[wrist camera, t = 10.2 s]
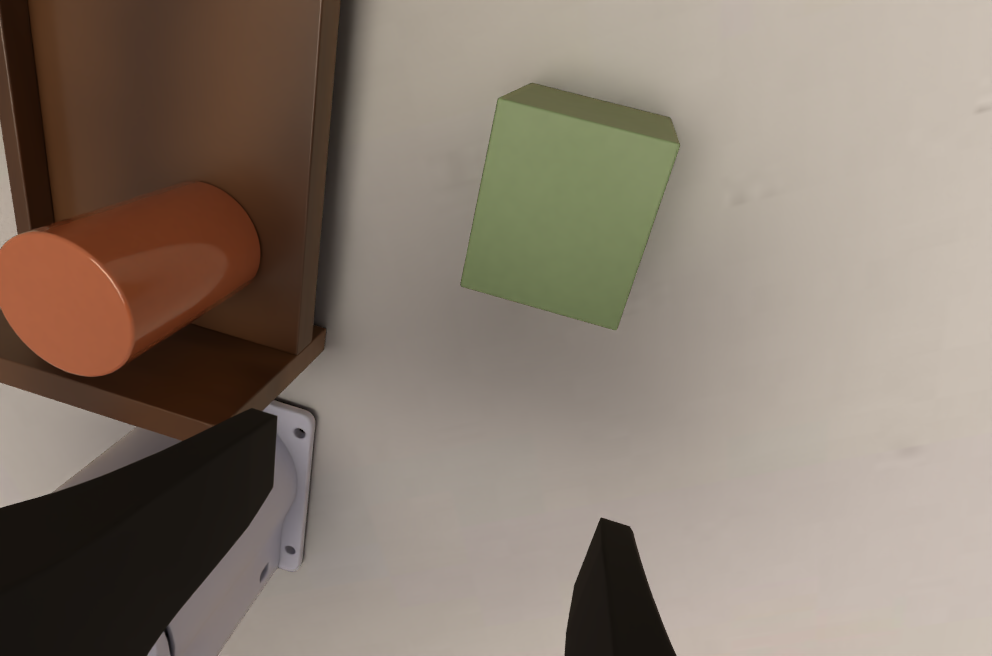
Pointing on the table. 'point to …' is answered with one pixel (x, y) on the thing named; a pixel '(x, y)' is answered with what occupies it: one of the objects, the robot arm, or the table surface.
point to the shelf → (177, 176)
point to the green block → (567, 202)
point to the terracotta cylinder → (125, 275)
